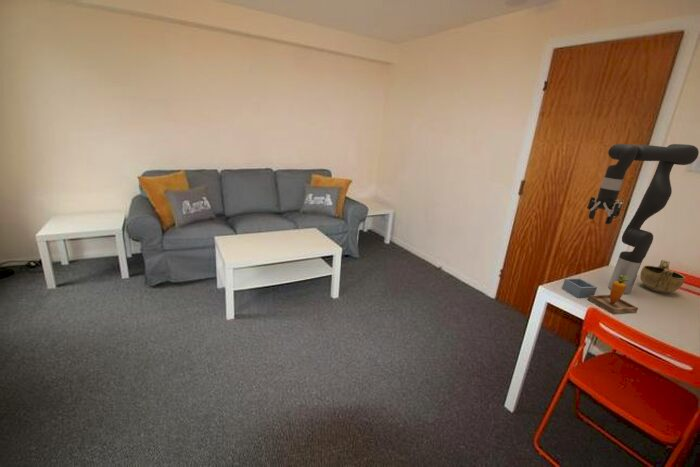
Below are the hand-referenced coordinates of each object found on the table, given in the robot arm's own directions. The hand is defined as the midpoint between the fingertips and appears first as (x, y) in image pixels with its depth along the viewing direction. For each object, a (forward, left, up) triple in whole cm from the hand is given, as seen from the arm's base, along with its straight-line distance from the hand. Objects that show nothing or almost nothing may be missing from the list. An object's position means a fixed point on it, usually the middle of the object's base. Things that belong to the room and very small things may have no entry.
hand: (598, 221), depth 161 cm
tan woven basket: (-50, +5, -36) cm, 62 cm away
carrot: (-2, +18, -35) cm, 39 cm away
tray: (-2, +18, -36) cm, 40 cm away
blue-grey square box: (+4, +4, -36) cm, 37 cm away
